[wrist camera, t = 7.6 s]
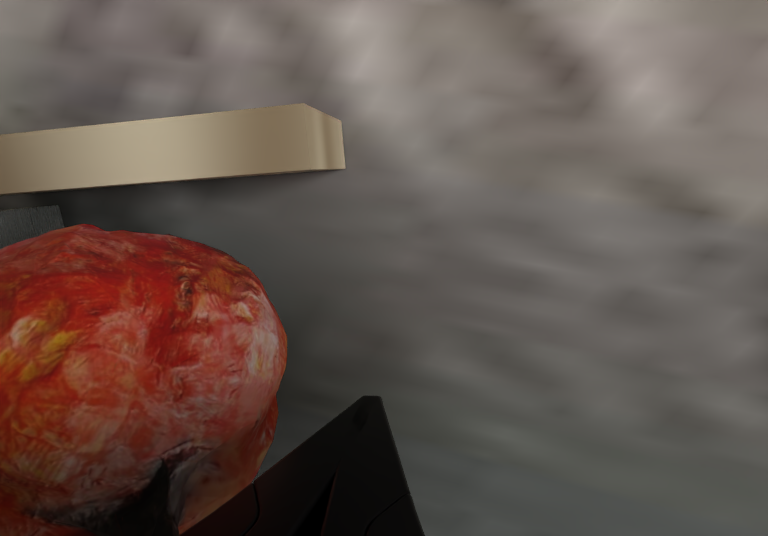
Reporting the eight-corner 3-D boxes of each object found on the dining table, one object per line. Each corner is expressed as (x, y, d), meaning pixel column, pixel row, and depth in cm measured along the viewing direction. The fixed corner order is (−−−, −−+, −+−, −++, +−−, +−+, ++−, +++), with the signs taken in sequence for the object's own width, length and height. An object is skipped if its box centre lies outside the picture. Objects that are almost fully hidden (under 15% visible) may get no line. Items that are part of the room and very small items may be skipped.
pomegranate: (176, 365, 16) (292, 630, 10) (-117, 386, 10) (-290, 1022, 4) (236, 194, 14) (432, 387, 8) (-87, 112, 8) (-330, 540, 2)
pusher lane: (341, 121, 10) (303, 103, 7) (380, 538, 13) (364, 640, 11) (-130, 166, 12) (-301, 166, 10) (-1, 516, 16) (-100, 595, 13)
